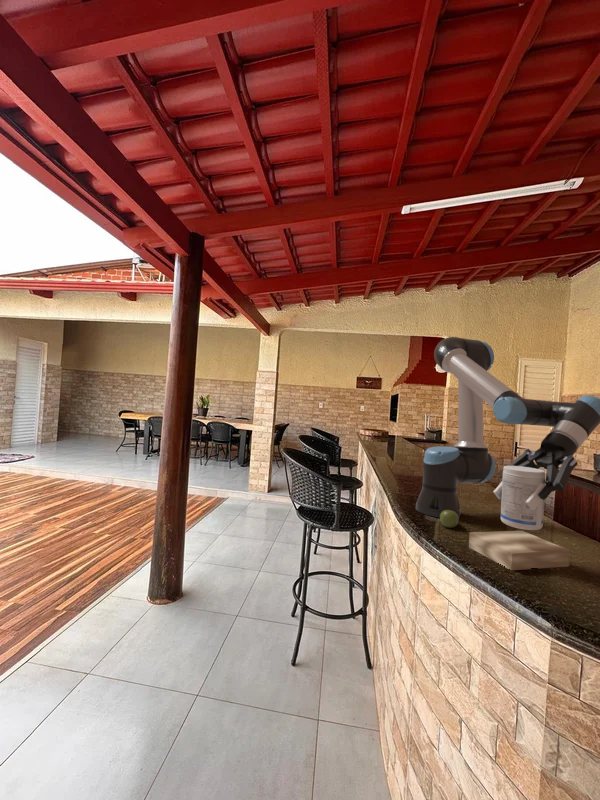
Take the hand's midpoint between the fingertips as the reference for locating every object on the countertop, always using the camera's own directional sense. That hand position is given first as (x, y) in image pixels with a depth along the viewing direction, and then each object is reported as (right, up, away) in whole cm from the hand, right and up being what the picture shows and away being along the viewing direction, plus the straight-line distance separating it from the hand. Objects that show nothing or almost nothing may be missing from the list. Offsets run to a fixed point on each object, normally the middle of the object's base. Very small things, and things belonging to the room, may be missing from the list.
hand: (512, 500), depth 96 cm
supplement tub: (+3, -7, +1) cm, 7 cm away
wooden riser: (+2, -15, +1) cm, 15 cm away
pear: (-7, -15, +25) cm, 29 cm away
